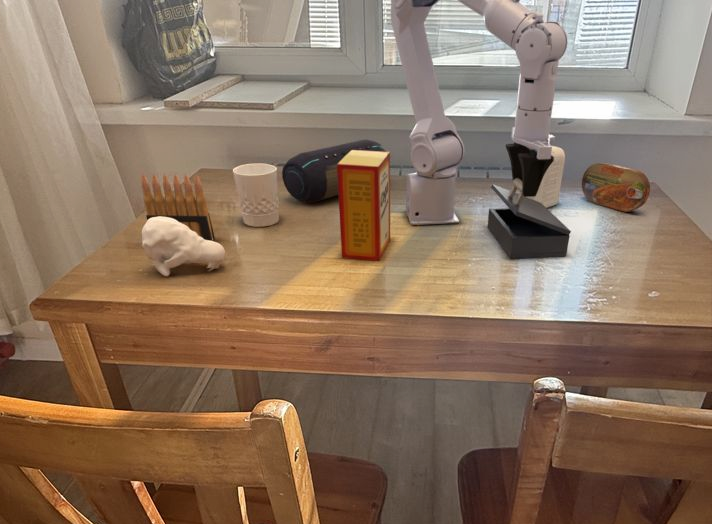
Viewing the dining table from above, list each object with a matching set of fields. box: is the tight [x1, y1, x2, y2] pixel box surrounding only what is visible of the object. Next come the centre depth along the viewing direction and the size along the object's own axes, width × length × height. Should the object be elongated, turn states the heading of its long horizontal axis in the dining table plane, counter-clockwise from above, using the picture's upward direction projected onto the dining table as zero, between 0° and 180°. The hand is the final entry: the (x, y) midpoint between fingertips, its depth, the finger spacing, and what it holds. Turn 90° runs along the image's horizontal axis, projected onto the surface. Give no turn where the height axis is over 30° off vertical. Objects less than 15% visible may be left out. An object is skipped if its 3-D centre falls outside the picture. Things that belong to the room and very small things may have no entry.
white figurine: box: [141, 216, 226, 277], centre depth 91 cm, size 6×8×12 cm
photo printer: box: [527, 145, 566, 209], centre depth 119 cm, size 10×4×12 cm, turn 134°
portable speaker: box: [281, 139, 387, 203], centre depth 125 cm, size 25×10×10 cm, turn 137°
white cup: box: [232, 162, 280, 228], centre depth 110 cm, size 8×8×10 cm
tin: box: [581, 162, 651, 213], centre depth 122 cm, size 15×3×8 cm, turn 41°
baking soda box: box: [337, 150, 391, 262], centre depth 98 cm, size 10×6×16 cm
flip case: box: [486, 207, 571, 260], centre depth 105 cm, size 10×15×4 cm
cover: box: [490, 178, 572, 236], centre depth 102 cm, size 11×15×4 cm
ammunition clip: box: [140, 173, 216, 242], centre depth 100 cm, size 11×2×12 cm, turn 91°
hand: (524, 191), depth 101 cm, fingers closed on cover, 5 cm apart
